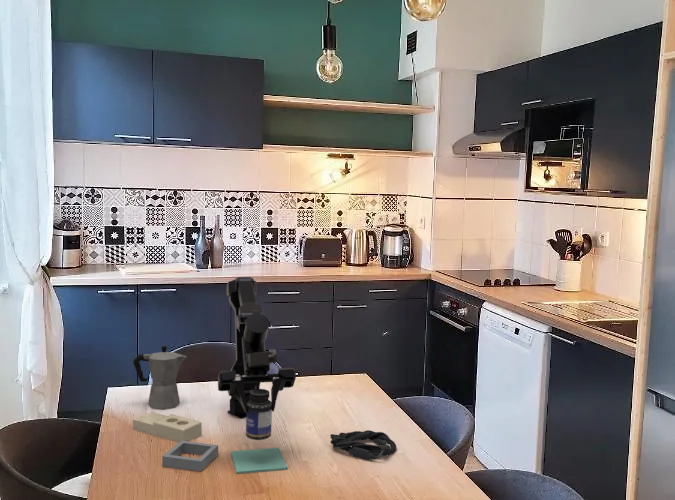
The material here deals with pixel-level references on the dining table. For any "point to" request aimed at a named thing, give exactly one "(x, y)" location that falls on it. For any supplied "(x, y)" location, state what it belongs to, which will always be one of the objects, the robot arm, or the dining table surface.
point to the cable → (361, 449)
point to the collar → (187, 463)
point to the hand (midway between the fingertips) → (260, 411)
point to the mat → (258, 460)
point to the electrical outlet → (168, 426)
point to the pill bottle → (259, 415)
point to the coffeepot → (161, 377)
